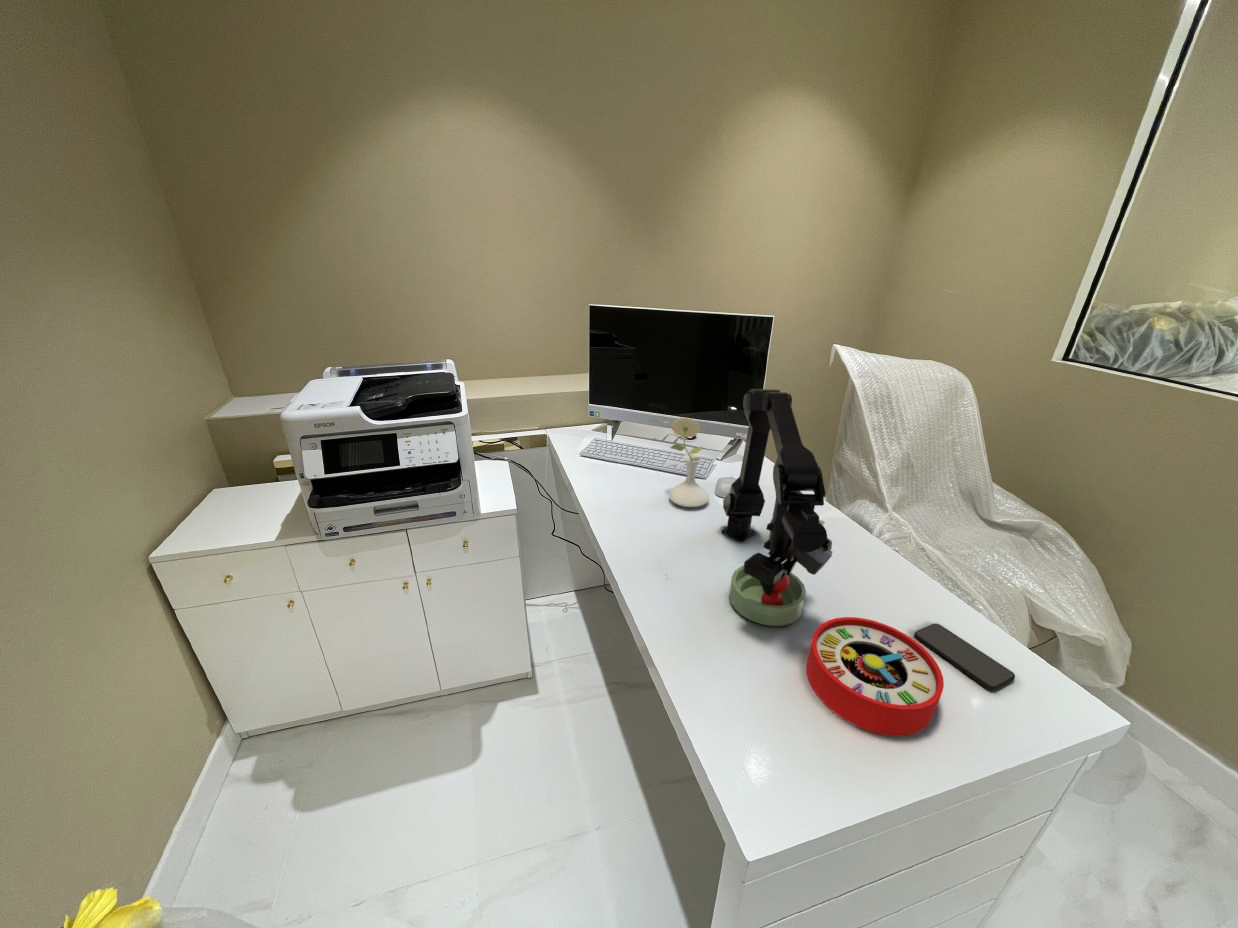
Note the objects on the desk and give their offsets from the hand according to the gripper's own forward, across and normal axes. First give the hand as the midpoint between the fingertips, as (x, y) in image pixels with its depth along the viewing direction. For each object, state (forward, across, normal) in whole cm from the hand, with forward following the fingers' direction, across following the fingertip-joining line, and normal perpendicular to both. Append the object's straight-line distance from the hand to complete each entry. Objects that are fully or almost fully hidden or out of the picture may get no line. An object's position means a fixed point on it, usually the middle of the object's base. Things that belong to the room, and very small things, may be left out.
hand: (775, 588), depth 101 cm
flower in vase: (+6, +25, +41) cm, 48 cm away
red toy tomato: (0, 0, 0) cm, 1 cm away
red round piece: (+2, +1, +2) cm, 3 cm away
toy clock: (+6, -5, -21) cm, 22 cm away
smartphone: (+6, +14, -31) cm, 34 cm away
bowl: (+6, +1, +2) cm, 6 cm away
